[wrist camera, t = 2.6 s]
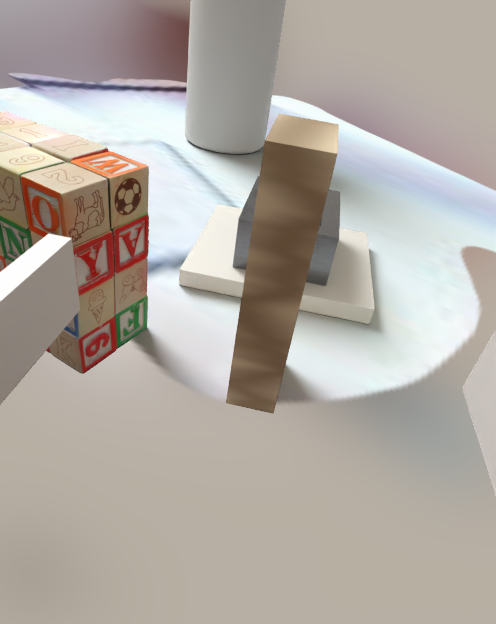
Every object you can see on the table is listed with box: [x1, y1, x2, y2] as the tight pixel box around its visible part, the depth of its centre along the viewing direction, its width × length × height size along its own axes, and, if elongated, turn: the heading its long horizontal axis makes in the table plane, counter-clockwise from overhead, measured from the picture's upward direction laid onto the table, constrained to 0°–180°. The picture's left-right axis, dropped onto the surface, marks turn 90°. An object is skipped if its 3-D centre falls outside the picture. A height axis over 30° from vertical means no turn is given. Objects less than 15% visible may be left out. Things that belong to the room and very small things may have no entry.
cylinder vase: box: [185, 0, 286, 154], centre depth 63 cm, size 12×12×25 cm
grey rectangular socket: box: [233, 176, 340, 286], centre depth 40 cm, size 8×10×4 cm
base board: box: [179, 204, 375, 324], centre depth 42 cm, size 16×14×2 cm
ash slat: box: [226, 114, 338, 413], centre depth 25 cm, size 3×5×16 cm, turn 170°
